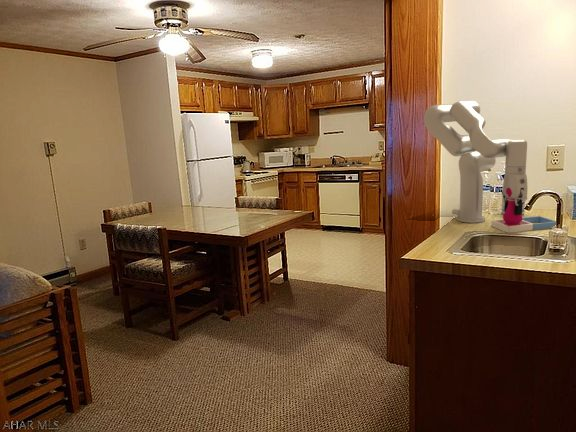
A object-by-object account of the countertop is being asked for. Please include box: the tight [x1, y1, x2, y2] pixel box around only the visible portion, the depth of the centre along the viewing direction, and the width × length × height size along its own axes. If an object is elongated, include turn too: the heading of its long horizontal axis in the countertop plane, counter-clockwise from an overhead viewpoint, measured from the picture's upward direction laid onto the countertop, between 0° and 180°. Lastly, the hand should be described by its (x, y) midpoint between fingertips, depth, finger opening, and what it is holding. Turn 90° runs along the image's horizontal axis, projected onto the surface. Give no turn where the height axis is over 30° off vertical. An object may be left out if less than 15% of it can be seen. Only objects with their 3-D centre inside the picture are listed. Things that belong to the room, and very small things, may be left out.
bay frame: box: [490, 215, 557, 234], centre depth 179 cm, size 22×12×2 cm, turn 96°
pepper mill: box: [502, 188, 523, 226], centre depth 177 cm, size 7×7×20 cm
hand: (513, 212), depth 177 cm, fingers closed on pepper mill, 5 cm apart
